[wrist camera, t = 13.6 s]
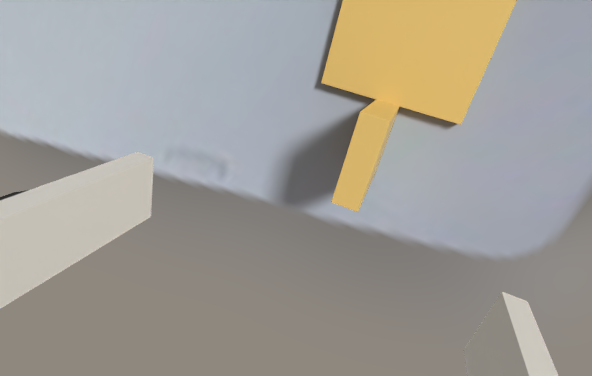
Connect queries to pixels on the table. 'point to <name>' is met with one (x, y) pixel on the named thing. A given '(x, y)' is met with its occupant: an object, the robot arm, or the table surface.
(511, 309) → the robot arm
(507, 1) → the lid
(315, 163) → the table surface
